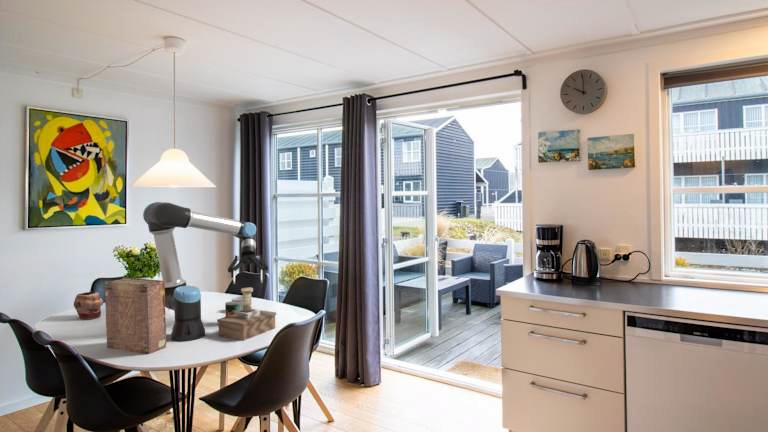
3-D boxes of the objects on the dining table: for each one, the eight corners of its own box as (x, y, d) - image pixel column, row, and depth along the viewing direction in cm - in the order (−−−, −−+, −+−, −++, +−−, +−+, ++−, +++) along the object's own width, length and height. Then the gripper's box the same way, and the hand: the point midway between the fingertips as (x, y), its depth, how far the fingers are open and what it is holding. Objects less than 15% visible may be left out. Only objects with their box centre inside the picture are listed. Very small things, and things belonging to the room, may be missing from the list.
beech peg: (247, 317, 225) (247, 290, 224) (239, 316, 227) (238, 289, 227) (255, 315, 230) (255, 288, 229) (247, 313, 232) (246, 287, 232)
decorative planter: (63, 319, 255) (62, 294, 254) (84, 313, 267) (83, 289, 266) (91, 322, 249) (90, 296, 248) (111, 316, 260) (110, 291, 260)
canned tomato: (225, 326, 239) (224, 305, 239) (226, 322, 247) (225, 301, 246) (241, 324, 241) (240, 304, 241) (241, 320, 249) (241, 300, 249)
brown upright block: (106, 347, 207) (104, 280, 206) (124, 341, 216) (122, 277, 214) (149, 354, 198) (147, 284, 197) (166, 347, 207) (164, 280, 205)
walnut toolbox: (243, 340, 215) (243, 318, 215) (217, 336, 223) (216, 314, 222) (276, 328, 235) (276, 307, 235) (251, 323, 243) (250, 304, 243)
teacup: (248, 313, 265) (247, 299, 264) (229, 313, 265) (228, 299, 265) (255, 307, 279) (255, 294, 278) (237, 307, 279) (237, 294, 279)
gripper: (272, 252, 258) (273, 284, 244) (225, 254, 252) (223, 287, 238) (272, 244, 252) (272, 276, 239) (223, 245, 246) (221, 278, 233)
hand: (248, 281), depth 238 cm, fingers open, 13 cm apart
